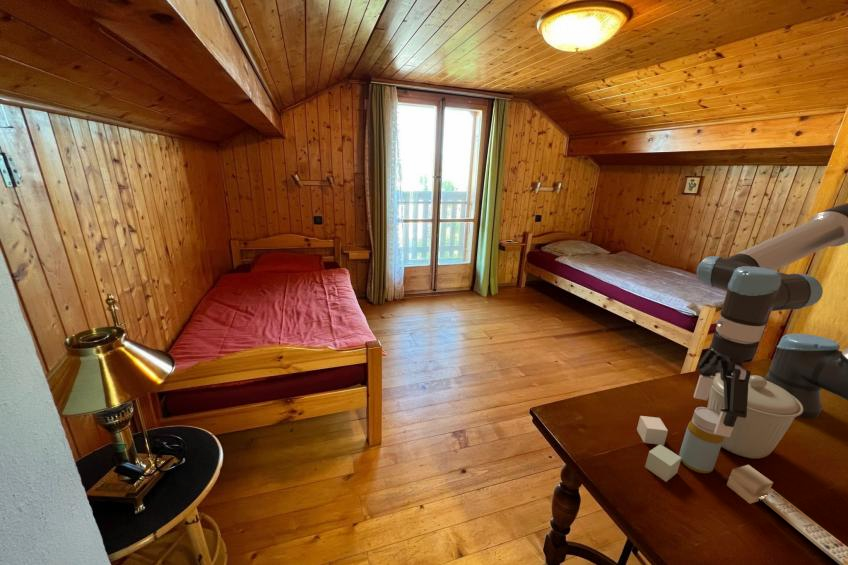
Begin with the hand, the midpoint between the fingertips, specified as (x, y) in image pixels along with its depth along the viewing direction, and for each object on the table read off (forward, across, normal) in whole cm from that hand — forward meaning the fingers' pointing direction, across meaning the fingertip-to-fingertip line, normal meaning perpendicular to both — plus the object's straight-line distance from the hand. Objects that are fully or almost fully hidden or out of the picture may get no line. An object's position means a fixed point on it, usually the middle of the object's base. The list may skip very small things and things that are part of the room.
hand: (710, 415), depth 84 cm
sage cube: (+15, +5, -8) cm, 18 cm away
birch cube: (+15, +5, +9) cm, 18 cm away
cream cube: (+15, -6, -8) cm, 19 cm away
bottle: (+15, 0, 0) cm, 15 cm away
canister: (+15, -12, +13) cm, 23 cm away
